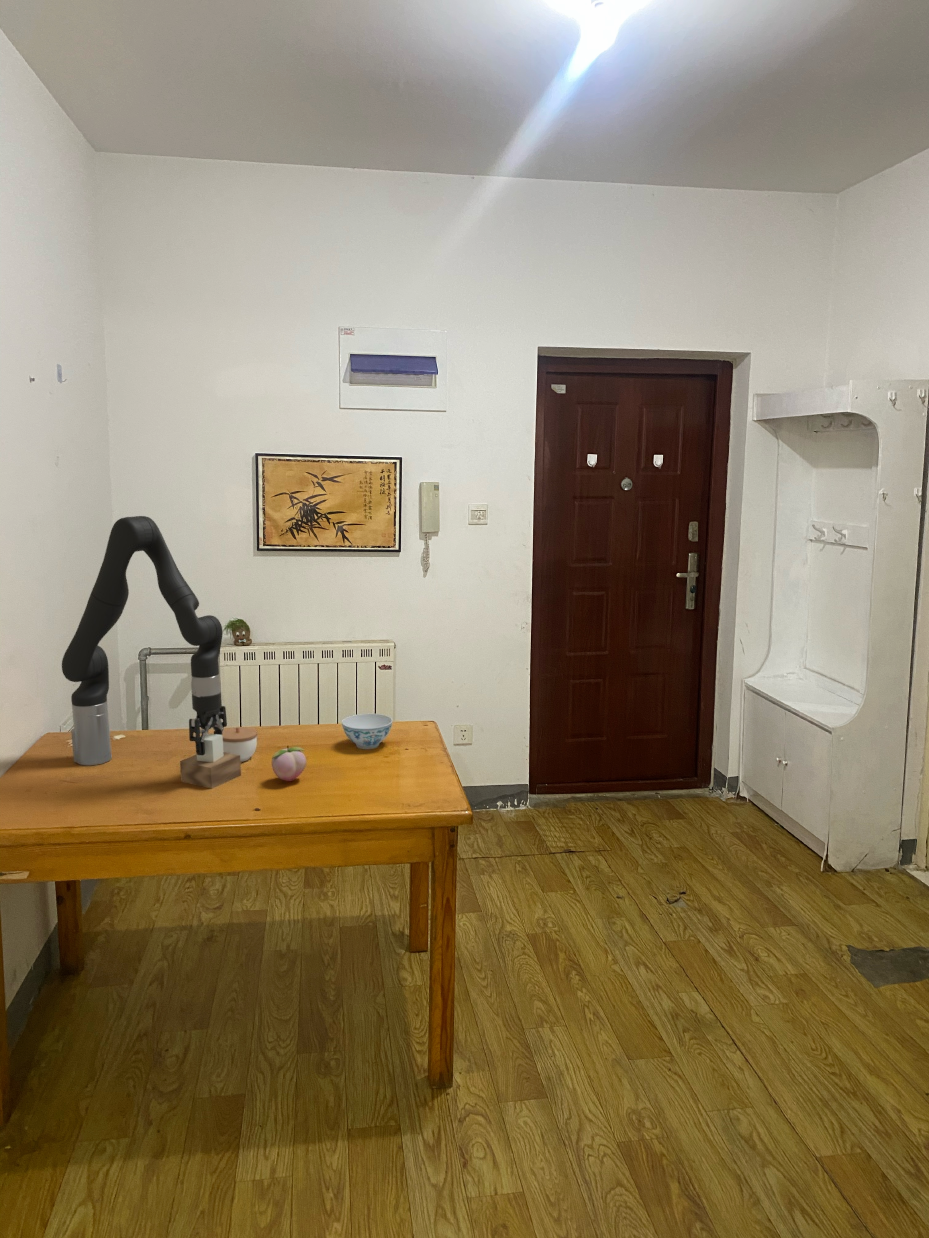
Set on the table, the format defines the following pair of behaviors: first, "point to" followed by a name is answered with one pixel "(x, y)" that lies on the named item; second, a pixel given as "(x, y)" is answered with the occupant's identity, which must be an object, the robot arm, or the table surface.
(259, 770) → the table surface
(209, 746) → the off-white cube
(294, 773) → the decorative fruit
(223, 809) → the table surface
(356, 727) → the chinaware
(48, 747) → the table surface
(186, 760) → the walnut block
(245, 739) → the lidded jar
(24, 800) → the table surface
